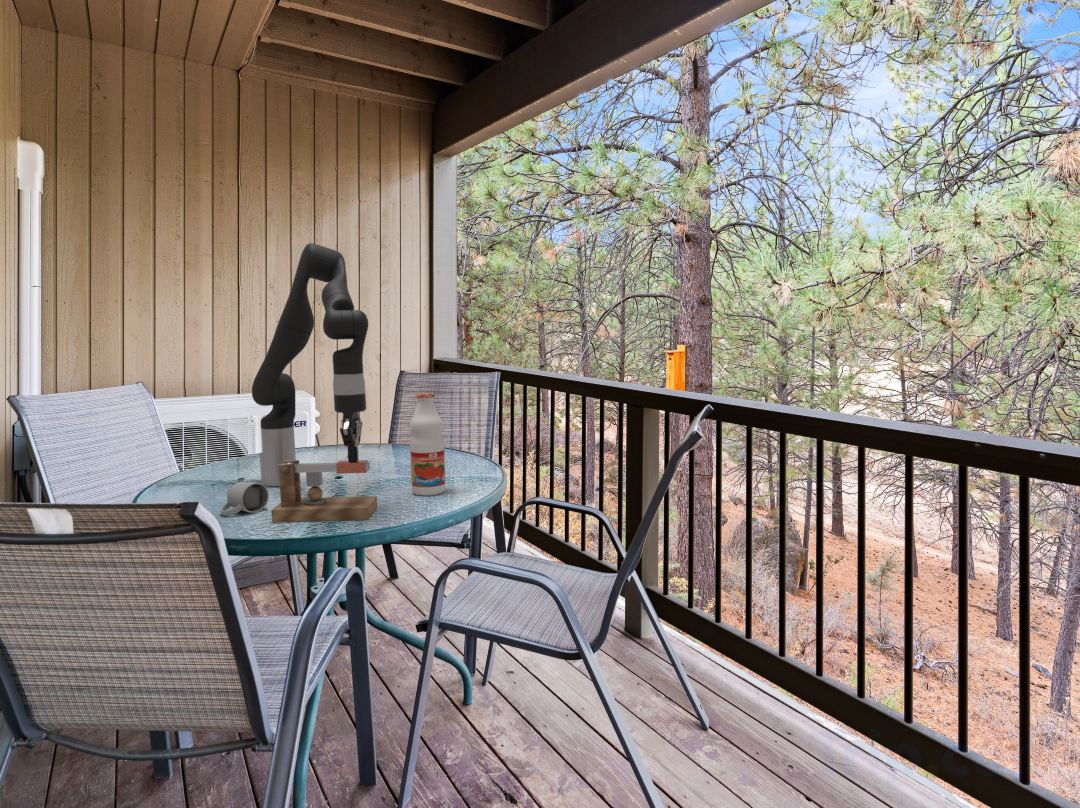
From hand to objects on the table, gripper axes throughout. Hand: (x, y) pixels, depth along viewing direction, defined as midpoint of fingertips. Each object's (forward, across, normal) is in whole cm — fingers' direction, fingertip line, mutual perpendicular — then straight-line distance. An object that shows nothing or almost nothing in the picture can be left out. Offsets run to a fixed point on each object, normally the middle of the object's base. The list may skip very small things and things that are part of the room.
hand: (353, 461), depth 165 cm
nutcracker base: (+13, 0, +7) cm, 15 cm away
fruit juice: (+14, +21, -16) cm, 29 cm away
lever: (+6, 0, +7) cm, 9 cm away
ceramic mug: (+14, +5, +30) cm, 33 cm away
